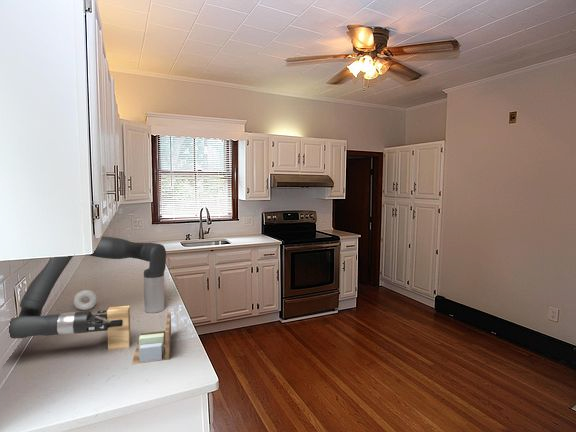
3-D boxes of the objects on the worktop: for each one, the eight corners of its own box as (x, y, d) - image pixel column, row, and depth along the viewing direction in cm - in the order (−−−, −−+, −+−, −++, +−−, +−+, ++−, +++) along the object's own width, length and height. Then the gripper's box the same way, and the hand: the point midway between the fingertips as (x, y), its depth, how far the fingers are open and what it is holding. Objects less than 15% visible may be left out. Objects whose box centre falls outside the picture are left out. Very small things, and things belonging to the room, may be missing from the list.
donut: (73, 312, 161) (72, 292, 160) (74, 310, 164) (73, 290, 163) (97, 309, 165) (96, 289, 164) (97, 307, 168) (97, 287, 167)
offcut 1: (140, 354, 120) (140, 335, 120) (164, 351, 123) (163, 332, 122) (139, 358, 117) (138, 339, 117) (163, 355, 120) (163, 336, 119)
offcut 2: (140, 358, 117) (140, 345, 116) (162, 356, 119) (161, 342, 119) (139, 362, 115) (139, 348, 114) (161, 359, 117) (161, 345, 116)
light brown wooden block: (110, 346, 126) (109, 307, 125) (130, 343, 128) (129, 305, 127) (108, 351, 122) (106, 311, 121) (129, 348, 124) (128, 309, 123)
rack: (138, 342, 132) (138, 314, 131) (171, 338, 135) (170, 311, 134) (131, 367, 113) (130, 335, 112) (169, 362, 117) (168, 331, 116)
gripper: (68, 320, 113) (121, 315, 118) (80, 305, 127) (127, 302, 131) (69, 341, 114) (121, 336, 119) (81, 324, 127) (128, 320, 132)
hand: (124, 318), depth 125 cm, fingers open, 8 cm apart
